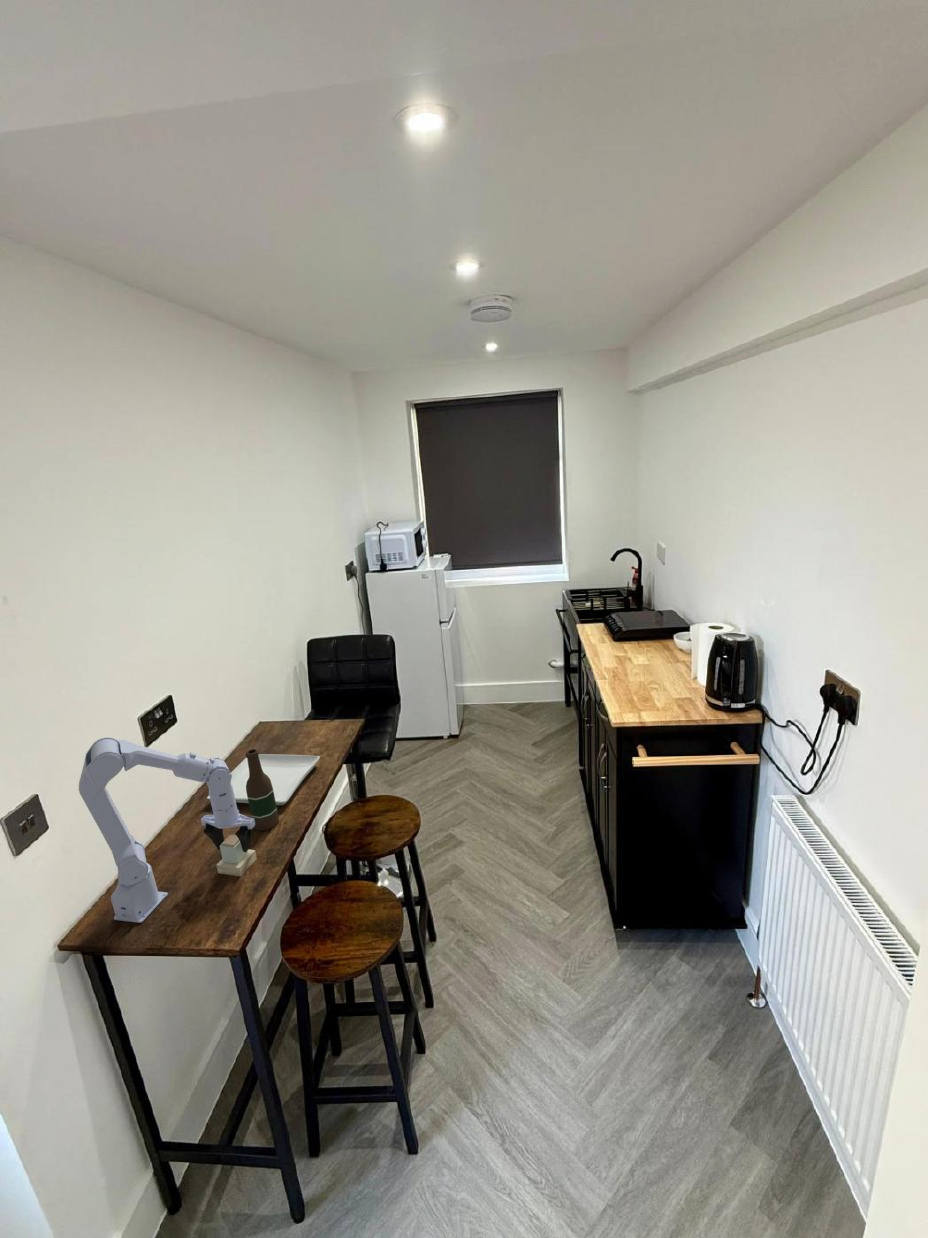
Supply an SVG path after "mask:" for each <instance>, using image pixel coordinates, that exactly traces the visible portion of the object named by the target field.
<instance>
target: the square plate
mask: <svg viewBox="0 0 928 1238" xmlns="http://www.w3.org/2000/svg"><path fill="white" fill-rule="evenodd" d="M258 756H259V760H260V764H261V767H262V770H263V772H264V773H265V774H266V775H267V776H268V777H269V778H270V780H271V783H272V787H273V791H274V796H275V801H276V806H283V805H285V804H287V802H289V800H290V798H291V797H292V796H293V794H294V793H295V791H296V790H297V789H298V788H299V786H300V785H301V783H302V782H303V780H305V778H306V777H307V776H308V774H309V773H310V772H311V771H312V770H313V768H315V765H316V764H317V763H318V762H319V760H320V759H321V758H320V757H321V756H319V755H304V754H303V755H302V754H278V753H277V754H274V753H270V754H269V753H268V754H267V753H266V754H265V753H263V754H262V753H259V755H258ZM230 773H231V774H232V778H231V785H232V787H233V792H234V796H235V801H236V804H238V803H240V804H249V802H248V798H247V792H246V783H247V780H248V778H249V767H248V759H247V758H246V757H245V758H244V759H243V760H242V761H241V762H240V763H239V764H238V765H237V766H236V767H235V768H234V769H233V770H232V771H230ZM206 799H207V800H209V801H210V797H209V795H208V796H206Z"/></svg>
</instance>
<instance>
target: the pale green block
mask: <svg viewBox="0 0 928 1238" xmlns="http://www.w3.org/2000/svg"><path fill="white" fill-rule="evenodd" d="M219 851H220V854H221V857H222V858H221V860H222V859H223V862H225V863H234V864H239V862H240V861H241V860H242V859H243V858H244V857H245V856H246V854H247V853H248V851H247V852H243V850H242V847H241V843H240V841H239V839H238V837H237V836H236V835H235V834H229V835H228V836H227V837H226V838H224V841H223V843H222V844H221V845H220V850H219Z"/></svg>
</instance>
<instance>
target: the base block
mask: <svg viewBox="0 0 928 1238" xmlns="http://www.w3.org/2000/svg"><path fill="white" fill-rule="evenodd" d="M257 857H258V856H257V852H256V850H255V849H250V848H249V849H248V853H247V854H246V856H245V857H244V858H243V859H242V860H241V861H240V862H239V864H234V863H225V862H223V859H222V858H221V859H220V860H219V862H217V863H216V868H217V873H218V874H221V875H228V876H234V877H235V876H236V877H242V876H244V875H245V873H246V872H247V870H248V869H249V868H250V867H251V866H252V865H253V864H254V862H255V861H256V860H257V859H258V858H257Z"/></svg>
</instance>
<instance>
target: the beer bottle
mask: <svg viewBox="0 0 928 1238" xmlns="http://www.w3.org/2000/svg"><path fill="white" fill-rule="evenodd" d="M259 754H260V752H259V750H258V749H257V748H252V749H249V750H246V752H245V758H247V759H248V767H249V778H248V780H247V783H246V792H247V798H248V802H249V803H248V806H249V811H250V816H251V818H254V820H255V826H254V827H253V829H254V830H257V831H262V832H263V831H264V832H265V831H267V830H271V829H273V828H274V827H275V826H276V825H278V823H280V817H279V812H278V807H277V806H278V805H276V801H275V796H274V791H273V787H272V783H271V780H270V778H269V777H268V776H267V775H266V774H265V773H264V772H263V770H262V767H261V764H260V760H259V756H258V755H259Z"/></svg>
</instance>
